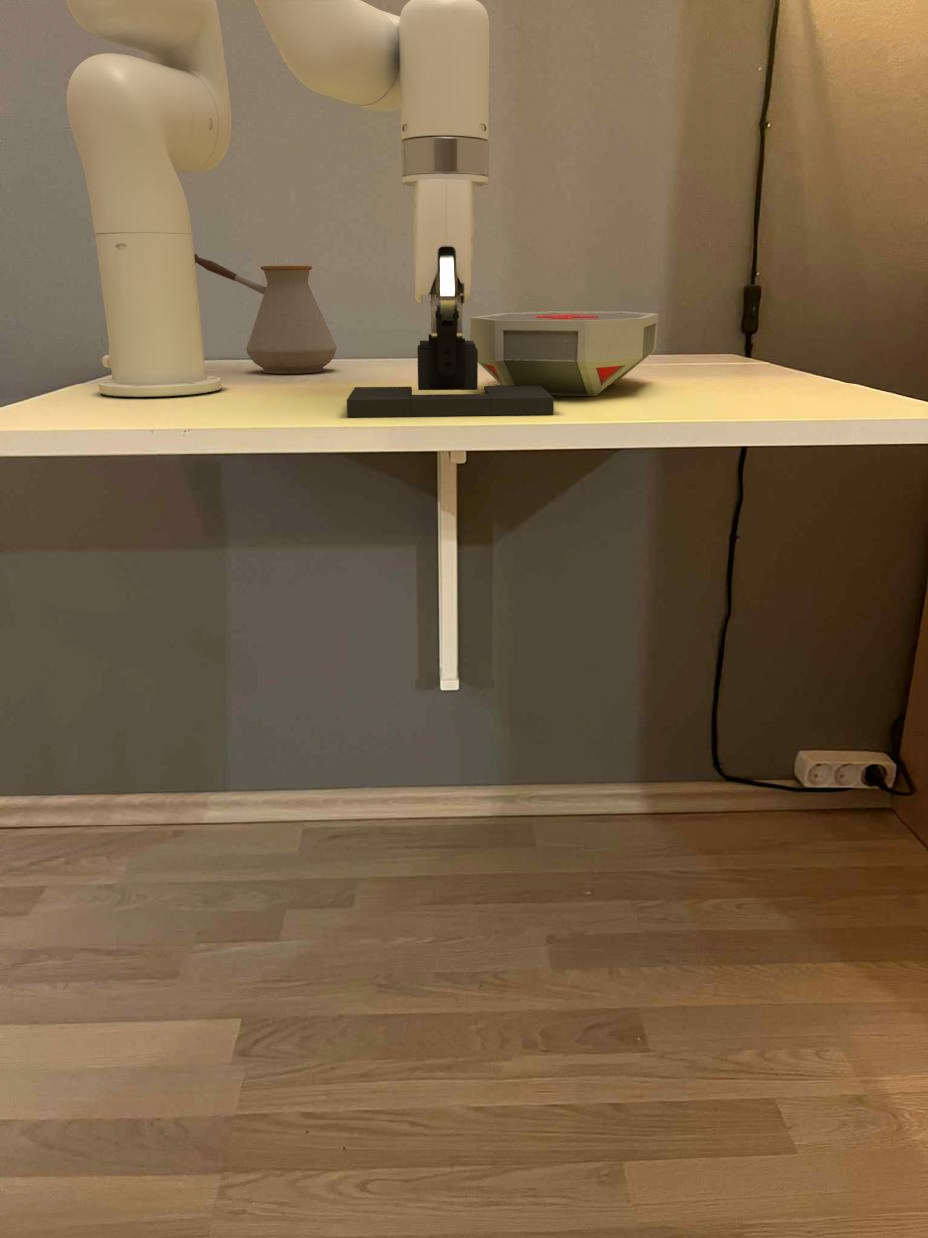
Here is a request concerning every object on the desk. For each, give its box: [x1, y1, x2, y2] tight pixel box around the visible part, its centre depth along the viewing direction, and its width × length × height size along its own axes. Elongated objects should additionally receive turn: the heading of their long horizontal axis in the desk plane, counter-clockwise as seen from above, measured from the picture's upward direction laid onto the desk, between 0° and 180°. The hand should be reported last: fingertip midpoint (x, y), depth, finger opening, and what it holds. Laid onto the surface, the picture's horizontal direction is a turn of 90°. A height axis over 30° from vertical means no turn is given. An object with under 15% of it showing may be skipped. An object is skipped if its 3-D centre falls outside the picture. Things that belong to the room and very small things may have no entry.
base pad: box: [346, 385, 555, 418], centre depth 87 cm, size 18×10×2 cm, turn 92°
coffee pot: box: [194, 253, 338, 375], centre depth 122 cm, size 21×12×15 cm, turn 74°
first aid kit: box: [469, 310, 659, 397], centre depth 101 cm, size 18×8×25 cm
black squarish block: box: [416, 340, 479, 391], centre depth 88 cm, size 5×5×4 cm
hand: (446, 378), depth 88 cm, fingers closed on black squarish block, 5 cm apart
